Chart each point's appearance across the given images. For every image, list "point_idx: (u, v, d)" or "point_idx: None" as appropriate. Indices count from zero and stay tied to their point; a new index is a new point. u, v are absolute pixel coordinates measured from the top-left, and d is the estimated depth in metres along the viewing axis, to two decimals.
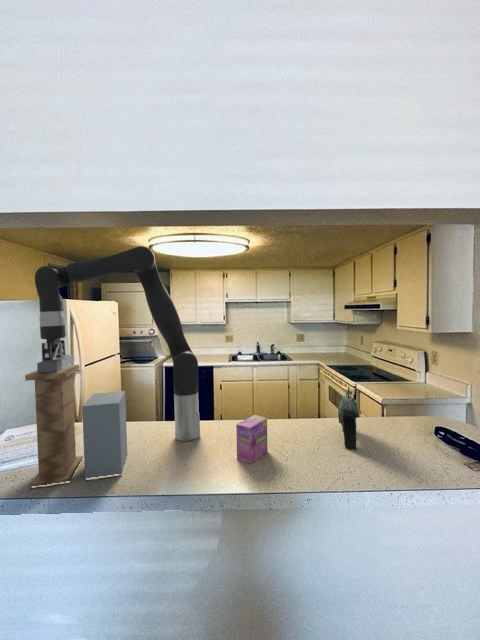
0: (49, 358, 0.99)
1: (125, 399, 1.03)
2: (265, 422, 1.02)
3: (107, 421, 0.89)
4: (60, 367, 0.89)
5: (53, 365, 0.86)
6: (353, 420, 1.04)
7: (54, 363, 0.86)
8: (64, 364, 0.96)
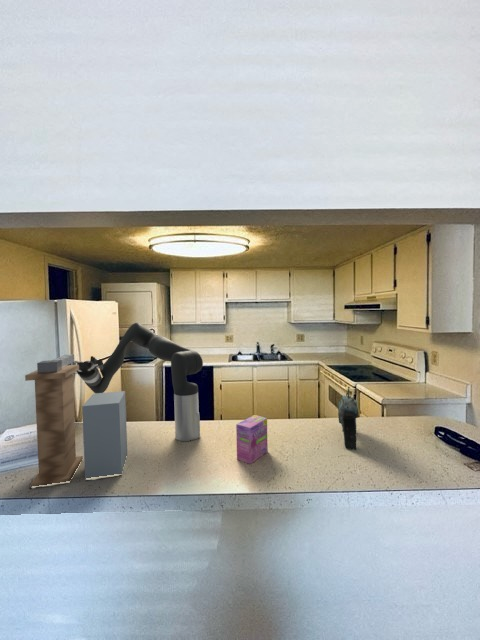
0: None
1: (125, 399, 1.03)
2: (265, 422, 1.02)
3: (107, 421, 0.89)
4: (60, 367, 0.89)
5: (53, 365, 0.86)
6: (353, 420, 1.04)
7: (54, 363, 0.86)
8: (64, 364, 0.96)
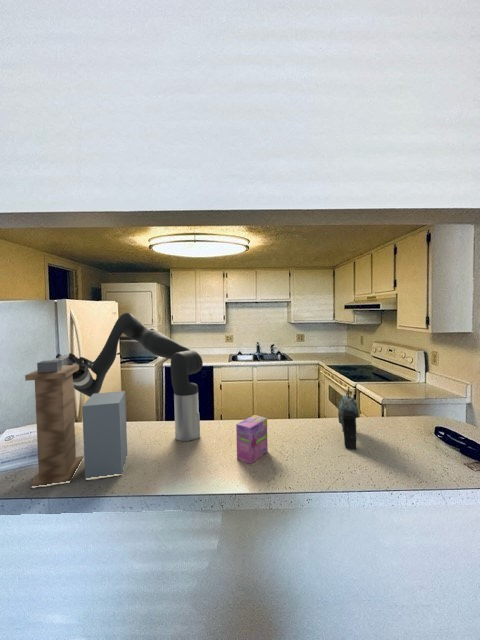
0: None
1: (125, 399, 1.03)
2: (265, 422, 1.02)
3: (107, 421, 0.89)
4: (60, 367, 0.89)
5: (53, 365, 0.86)
6: (353, 420, 1.04)
7: (54, 363, 0.86)
8: (64, 364, 0.96)
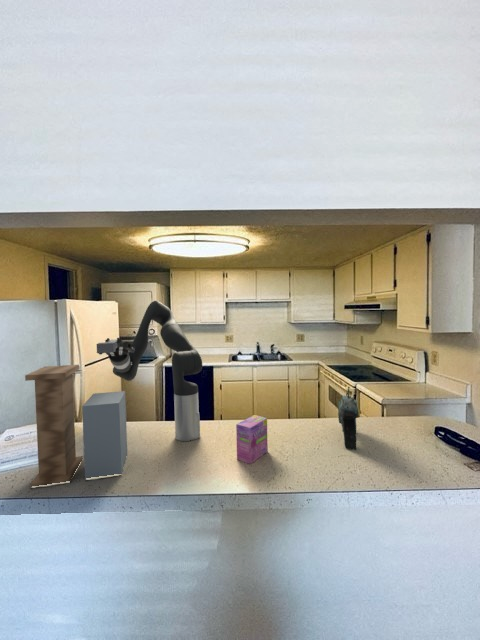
0: None
1: (125, 399, 1.03)
2: (265, 422, 1.02)
3: (107, 421, 0.89)
4: (114, 348, 1.01)
5: (110, 346, 0.98)
6: (353, 420, 1.04)
7: (111, 344, 0.98)
8: (115, 347, 1.07)
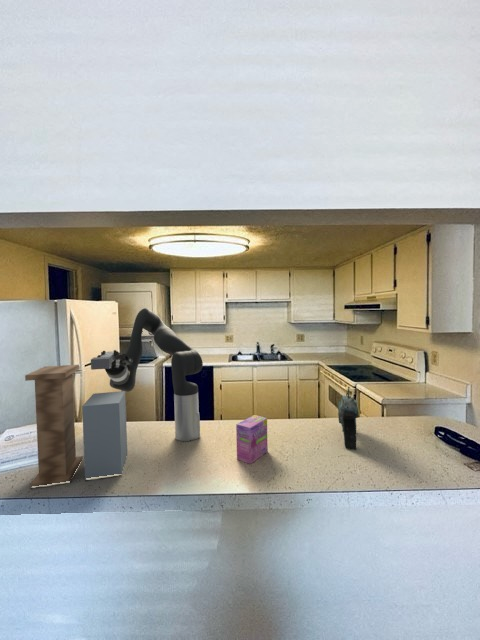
0: None
1: (125, 399, 1.03)
2: (265, 422, 1.02)
3: (107, 421, 0.89)
4: (110, 363, 0.93)
5: (105, 362, 0.90)
6: (353, 420, 1.04)
7: (106, 360, 0.90)
8: (111, 361, 0.99)
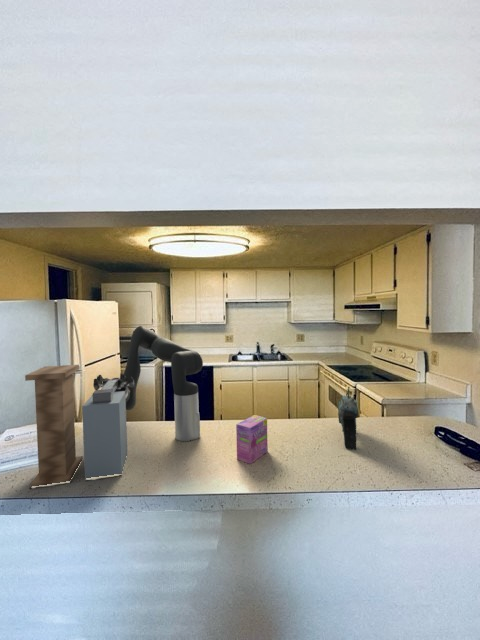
0: None
1: (125, 399, 1.03)
2: (265, 422, 1.02)
3: (107, 421, 0.89)
4: (112, 396, 0.93)
5: (107, 395, 0.90)
6: (353, 420, 1.04)
7: (108, 393, 0.90)
8: (112, 391, 1.00)
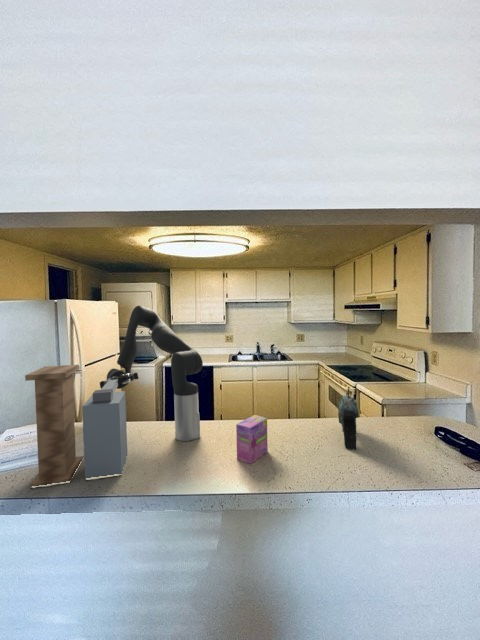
0: None
1: (125, 399, 1.03)
2: (265, 422, 1.02)
3: (107, 421, 0.89)
4: (112, 396, 0.93)
5: (107, 395, 0.90)
6: (353, 420, 1.04)
7: (108, 393, 0.90)
8: (112, 391, 1.00)
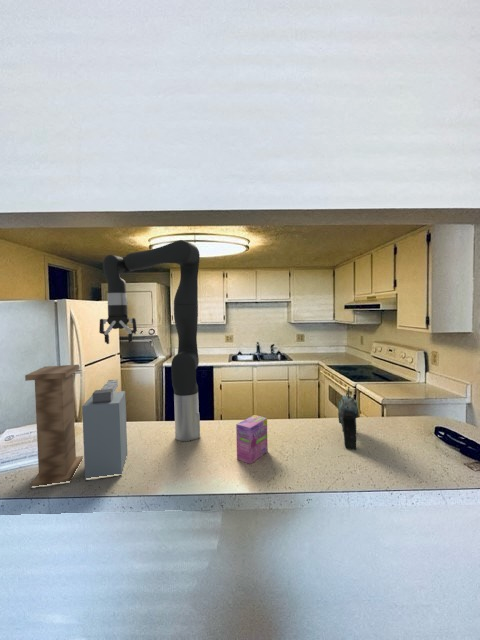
0: None
1: (125, 399, 1.03)
2: (265, 422, 1.02)
3: (107, 421, 0.89)
4: (112, 396, 0.93)
5: (107, 395, 0.90)
6: (353, 420, 1.04)
7: (108, 393, 0.90)
8: (112, 391, 1.00)
